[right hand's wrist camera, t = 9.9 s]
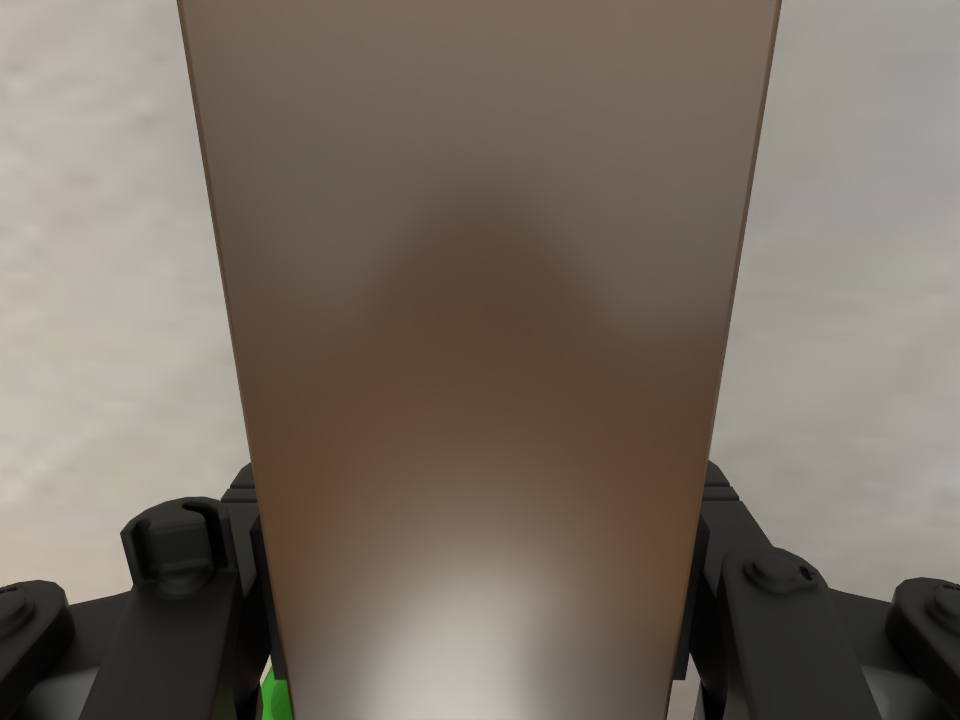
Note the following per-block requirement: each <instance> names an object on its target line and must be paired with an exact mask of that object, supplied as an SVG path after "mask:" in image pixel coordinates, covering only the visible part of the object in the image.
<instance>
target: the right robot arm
mask: <svg viewBox="0 0 960 720" xmlns="http://www.w3.org/2000/svg"><path fill="white" fill-rule="evenodd" d="M120 535H121V539H122V543H123V547H124V550H125V554H126V558H127V562H128V565H129V569H130V573H131V577H132V580H133V586H132V589H131V591H128V592H124V593H121V594H117V595H113V596H109V597H104V598H100V599H95V600H91V601H86V602H82V603H77V604H73V605H69V604H68V600H67V597H66V594H65V591H64V590H63V589H62V588H61V587H60V586H59V585H57V584H56V583H55V582H49V581H43V580H34V581H26V582H18V583H14V584H11V585H7V586H5V587H1V588H0V720H262V716H263V706H264V705H263V698H262V691H261V686H260V678H261V675H262V673H263V670H264V668H265V665H266V663H267V660H268V658H269V655H270V656H271V662H272V668H273V674H274V679H275V680H286V675H285V669H284V663H283V656H282V650H281V644H280V638H279V632H278V625H277V619H276V613H275V607H274V601H273V594H272V588H271V582H270V576H269V569H268V563H267V557H266V551H265V545H264V538H263V532H262V526H261V520H260V514H259V507H258V501H257V495H256V489H255V483H254V476H253V470H252V464H251V462H250V463H249V464H248V465H246V466H245V467H243V468H242V469H241V470H240V472H239V473H238V475H237V476H236V478H235V479H234V481H233V482H232V484H231V485H230V489H227V491H226V492H225V494H224V495H223V497H222V498H221V502H220V501H219V500H216V499H212V498H208V497H184V498H180V499H175V500H171V501H166V502H163V503H161V504H159V505H156V506H154V507H151V508H149V509H147V510H145V511H143V512H142V513H141V514H139V515H138V516H136V517H135V518H133V519H132V520H130V521H129V522H128V524H127V525H126V526H125V527H124V529H123V530H122V531H121V532H120ZM690 653H691V656H692V658H693V661H694V663H695V666H696V668H697V671H698V673H699V676H700V678H701V680H700V686H699V691H698V696H697V702H696V707H695V713H694V718H693V720H960V585H959V584H954V583H952V582H948V581H945V580H940V579H932V578H924V577H920V578H914V579H908V580H904V581H903V582H902V583H901V584H900V585H899V586H897V587H896V589H895V593H894V596H893V599H892V602H891V603H890V602H885V601H881V600H876V599H872V598H867V597H863V596H858V595H854V594H849V593H845V592H841V591H838V590H834V589H831V588H828V585H827V583H826V582H825V580H824V579H823V577H822V576H821V574H820V573H819V572H818V570H817V569H815V568H814V567H813V566H812V565H810V564H809V563H808V562H807V561H805V560H804V559H803V558H801V557H799V556H797V555H795V554H792V553H790V552H788V551H786V550H784V549H780V548H776V547H773V546H772V544H771V543H770V541H769V540H768V538H767V537H766V535H765V534H764V533H763V531H762V530H761V528H760V527H759V525H758V524H757V522H756V521H755V519H754V518H753V517H752V515H751V514H750V512H749V511H748V509H747V508H746V506H745V505H744V503H743V502H742V501H740V500H739V496H738V495H737V493H736V492H735V490H734V489H733V487H730V483H729V482H728V480H727V479H726V477H725V476H724V474H723V473H722V471H721V470H720V469H719V467H718V466H717V465H715V464H714V463H712V462H711V461H709V460H708V464H707V470H706V476H705V483H704V489H703V495H702V501H701V507H700V514H699V520H698V526H697V532H696V539H695V545H694V551H693V557H692V564H691V570H690V576H689V582H688V588H687V595H686V601H685V607H684V613H683V620H682V626H681V632H680V638H679V645H678V651H677V657H676V663H675V669H674V676H673V680H685V677H686V671H687V665H688V660H689V654H690Z"/></svg>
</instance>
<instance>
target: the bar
mask: <svg viewBox="0 0 960 720" xmlns="http://www.w3.org/2000/svg"><path fill="white" fill-rule="evenodd" d="M781 3H782V0H177V5H178V11H179V17H180V23H181V30H182V36H183V42H184V48H185V54H186V61H187V67H188V73H189V79H190V86H191V92H192V98H193V104H194V110H195V117H196V123H197V129H198V135H199V141H200V148H201V154H202V160H203V166H204V172H205V179H206V185H207V191H208V197H209V203H210V210H211V216H212V222H213V228H214V234H215V241H216V247H217V253H218V259H219V265H220V272H221V278H222V284H223V290H224V296H225V303H226V309H227V315H228V321H229V328H230V334H231V340H232V346H233V352H234V359H235V365H236V371H237V377H238V383H239V390H240V396H241V402H242V408H243V414H244V421H245V427H246V433H247V439H248V445H249V452H250V458H251V464H252V470H253V476H254V483H255V489H256V495H257V501H258V507H259V514H260V520H261V526H262V532H263V538H264V545H265V551H266V557H267V563H268V569H269V576H270V582H271V588H272V594H273V601H274V607H275V613H276V619H277V625H278V632H279V638H280V644H281V650H282V656H283V663H284V669H285V675H286V681H287V687H288V694H289V700H290V706H291V712H292V718H293V720H666V719H667V713H668V707H669V701H670V694H671V688H672V682H673V676H674V669H675V663H676V657H677V651H678V645H679V638H680V632H681V626H682V620H683V613H684V607H685V601H686V595H687V588H688V582H689V576H690V570H691V564H692V557H693V551H694V545H695V539H696V532H697V526H698V520H699V514H700V507H701V501H702V495H703V489H704V483H705V476H706V470H707V464H708V458H709V451H710V445H711V439H712V433H713V426H714V420H715V414H716V408H717V402H718V395H719V389H720V383H721V377H722V370H723V364H724V358H725V352H726V346H727V339H728V333H729V327H730V321H731V314H732V308H733V302H734V296H735V289H736V283H737V277H738V271H739V265H740V258H741V252H742V246H743V240H744V233H745V227H746V221H747V215H748V208H749V202H750V196H751V190H752V184H753V177H754V171H755V165H756V159H757V152H758V146H759V140H760V134H761V127H762V121H763V115H764V109H765V103H766V96H767V90H768V84H769V78H770V71H771V65H772V59H773V53H774V46H775V40H776V34H777V28H778V22H779V15H780V9H781Z"/></svg>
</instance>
